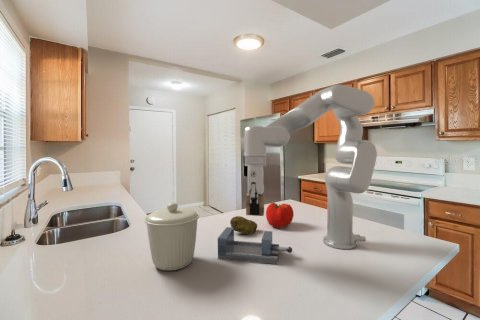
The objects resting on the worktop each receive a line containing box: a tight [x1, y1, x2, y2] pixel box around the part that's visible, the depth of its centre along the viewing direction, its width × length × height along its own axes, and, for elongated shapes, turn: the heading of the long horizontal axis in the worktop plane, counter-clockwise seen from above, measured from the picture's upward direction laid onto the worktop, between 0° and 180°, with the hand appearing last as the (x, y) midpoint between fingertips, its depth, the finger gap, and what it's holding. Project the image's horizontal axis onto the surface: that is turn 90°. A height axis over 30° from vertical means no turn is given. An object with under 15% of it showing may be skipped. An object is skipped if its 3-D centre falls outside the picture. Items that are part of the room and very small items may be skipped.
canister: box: [143, 202, 200, 272], centre depth 79 cm, size 18×18×21 cm
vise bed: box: [217, 226, 280, 265], centre depth 86 cm, size 21×12×8 cm, turn 78°
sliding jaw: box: [261, 230, 293, 256], centre depth 84 cm, size 10×9×6 cm
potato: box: [229, 215, 258, 235], centre depth 108 cm, size 8×13×8 cm, turn 94°
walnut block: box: [245, 192, 265, 217], centre depth 82 cm, size 6×4×7 cm, turn 80°
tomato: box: [265, 202, 294, 229], centre depth 117 cm, size 13×14×12 cm
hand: (255, 212), depth 82 cm, fingers closed on walnut block, 4 cm apart
